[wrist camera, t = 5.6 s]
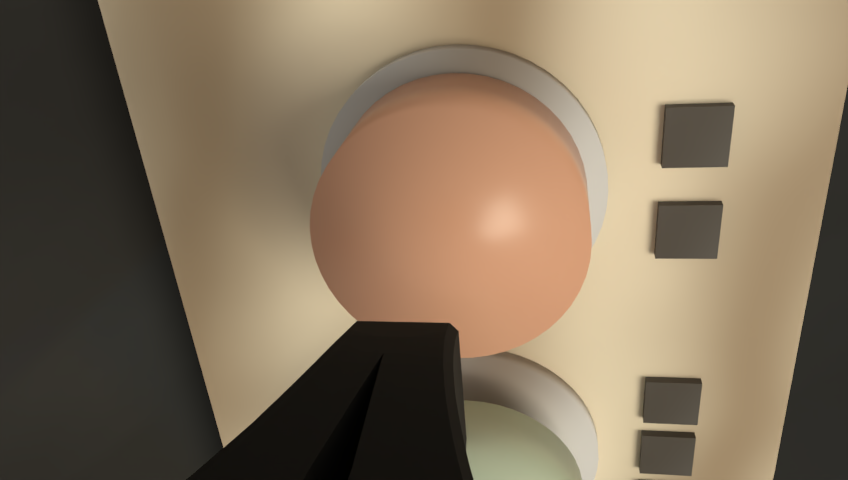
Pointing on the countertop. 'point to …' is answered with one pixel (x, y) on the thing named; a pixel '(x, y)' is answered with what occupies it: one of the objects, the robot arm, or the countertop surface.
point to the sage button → (514, 446)
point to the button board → (606, 181)
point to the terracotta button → (456, 213)
